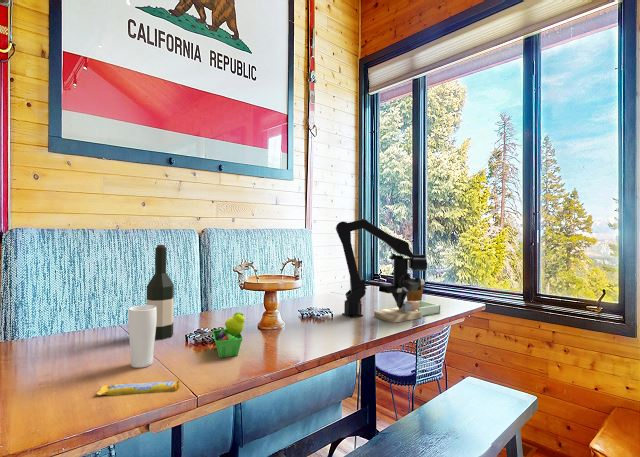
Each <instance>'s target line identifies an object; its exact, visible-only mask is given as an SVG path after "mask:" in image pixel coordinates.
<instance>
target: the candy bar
mask: <svg viewBox="0 0 640 457" xmlns="http://www.w3.org/2000/svg"><path fill="white" fill-rule="evenodd" d="M180 387H181V386H180V379H179V378H178V379H177V380H174V381H173V380H172V381H157V382H143V383H142V382H141V383H140V382H139V383H122V384H121V383H120V384H119V383H118V384H116V383H115V384H110V385H107V384H106V385H105V384H103V385H102V386H101V387H100V388H99V390H98V391H96V395H98V396H105V395H106V396H121V395H122V396H124V395H133V394H135V395H136V394H151V393H160V392H161V393H162V392H163V393H164V392H176V391H178V389H179V388H180Z"/></svg>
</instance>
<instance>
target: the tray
mask: <svg viewBox="0 0 640 457" xmlns="http://www.w3.org/2000/svg"><path fill="white" fill-rule="evenodd" d="M415 302H419V303H420V304H419V308H418V310H416V311H420V312H422V317H426V316H432V315H439V314H440V313H441V304H437V303H433V302H429V301H425V300H421V301H415Z"/></svg>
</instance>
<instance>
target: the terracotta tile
mask: <svg viewBox="0 0 640 457" xmlns="http://www.w3.org/2000/svg"><path fill="white" fill-rule="evenodd" d="M405 302H409V303H413V306H412V310H418V308H419V304H420V303H419V302H415V301H407V300H406V301H405Z"/></svg>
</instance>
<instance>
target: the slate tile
mask: <svg viewBox="0 0 640 457" xmlns="http://www.w3.org/2000/svg"><path fill="white" fill-rule="evenodd" d="M412 306H413V303H409V302H406V301H404V303H403V305H402V308H399V310H402V311H412Z"/></svg>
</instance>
